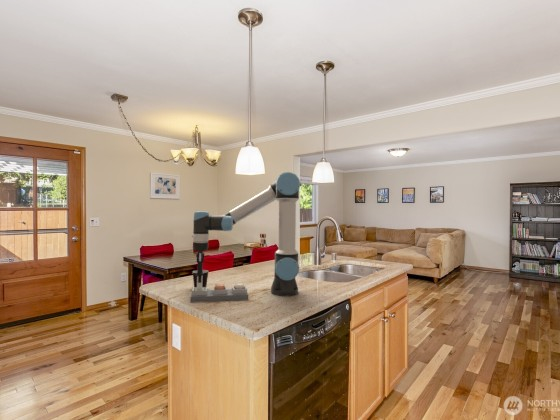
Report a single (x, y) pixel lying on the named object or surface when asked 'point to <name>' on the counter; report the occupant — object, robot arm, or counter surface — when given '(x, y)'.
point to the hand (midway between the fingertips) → (199, 288)
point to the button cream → (239, 286)
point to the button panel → (219, 294)
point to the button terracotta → (219, 287)
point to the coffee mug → (203, 278)
